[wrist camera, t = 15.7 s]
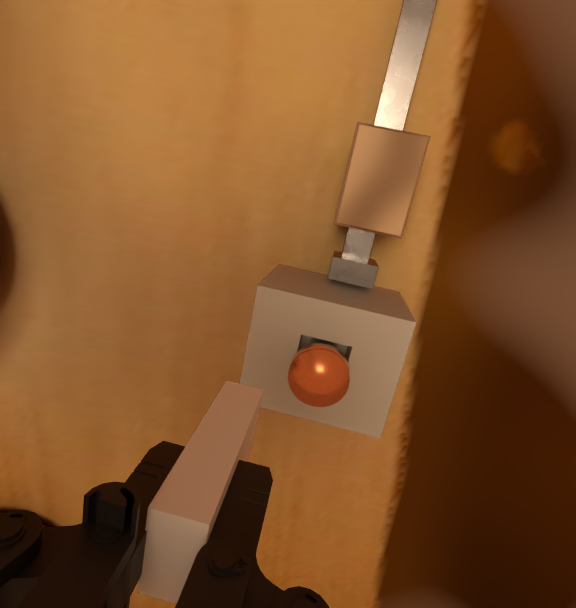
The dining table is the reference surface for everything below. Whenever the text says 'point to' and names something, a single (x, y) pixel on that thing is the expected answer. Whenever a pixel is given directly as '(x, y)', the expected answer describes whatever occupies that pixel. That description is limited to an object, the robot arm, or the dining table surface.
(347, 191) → the block
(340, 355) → the push button
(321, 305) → the knob base
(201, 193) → the dining table surface
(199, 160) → the dining table surface
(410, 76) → the rail
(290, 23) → the dining table surface
